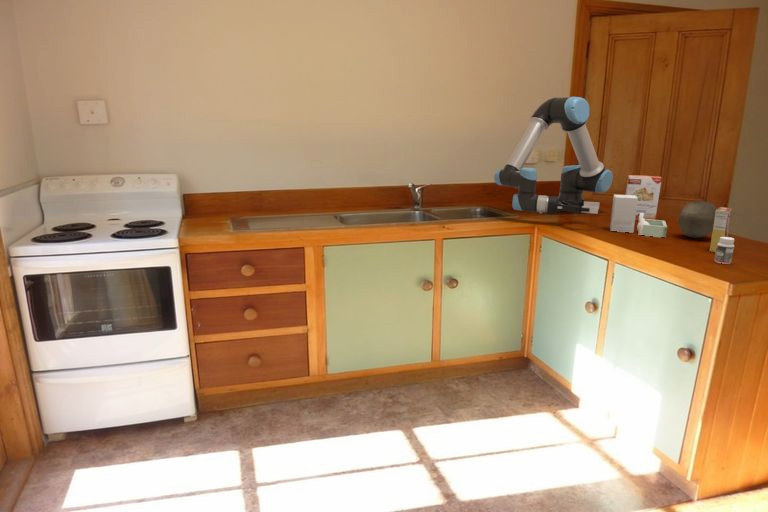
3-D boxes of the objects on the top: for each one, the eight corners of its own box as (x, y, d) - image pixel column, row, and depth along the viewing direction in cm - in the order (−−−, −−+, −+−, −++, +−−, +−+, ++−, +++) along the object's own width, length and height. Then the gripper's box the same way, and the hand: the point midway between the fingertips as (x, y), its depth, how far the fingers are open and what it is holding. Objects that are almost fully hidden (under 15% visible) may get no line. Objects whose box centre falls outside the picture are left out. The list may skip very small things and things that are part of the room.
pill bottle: (710, 260, 171) (715, 236, 169) (724, 260, 172) (728, 236, 169) (720, 264, 167) (725, 239, 165) (734, 264, 167) (739, 239, 165)
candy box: (712, 247, 190) (719, 206, 186) (725, 248, 187) (733, 208, 183) (708, 251, 183) (715, 209, 180) (722, 253, 181) (730, 211, 177)
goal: (637, 228, 222) (639, 212, 220) (663, 230, 218) (665, 214, 216) (638, 235, 208) (640, 218, 206) (665, 238, 204) (668, 220, 202)
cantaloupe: (668, 234, 211) (674, 198, 207) (702, 234, 211) (709, 199, 207) (686, 242, 197) (693, 204, 194) (723, 242, 197) (730, 204, 193)
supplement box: (631, 229, 220) (636, 195, 216) (633, 233, 212) (638, 198, 208) (609, 227, 223) (613, 193, 219) (610, 231, 215) (614, 196, 211)
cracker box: (622, 219, 242) (628, 175, 236) (622, 217, 247) (627, 174, 242) (655, 222, 237) (662, 177, 231) (654, 220, 242) (660, 176, 237)
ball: (650, 221, 214) (645, 231, 216) (638, 218, 214) (633, 228, 216) (653, 225, 209) (648, 236, 211) (641, 222, 210) (636, 232, 212)
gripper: (550, 208, 240) (598, 212, 232) (543, 217, 218) (596, 221, 210) (552, 192, 238) (600, 195, 230) (545, 199, 216) (598, 203, 208)
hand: (598, 208), depth 220 cm, fingers open, 13 cm apart
